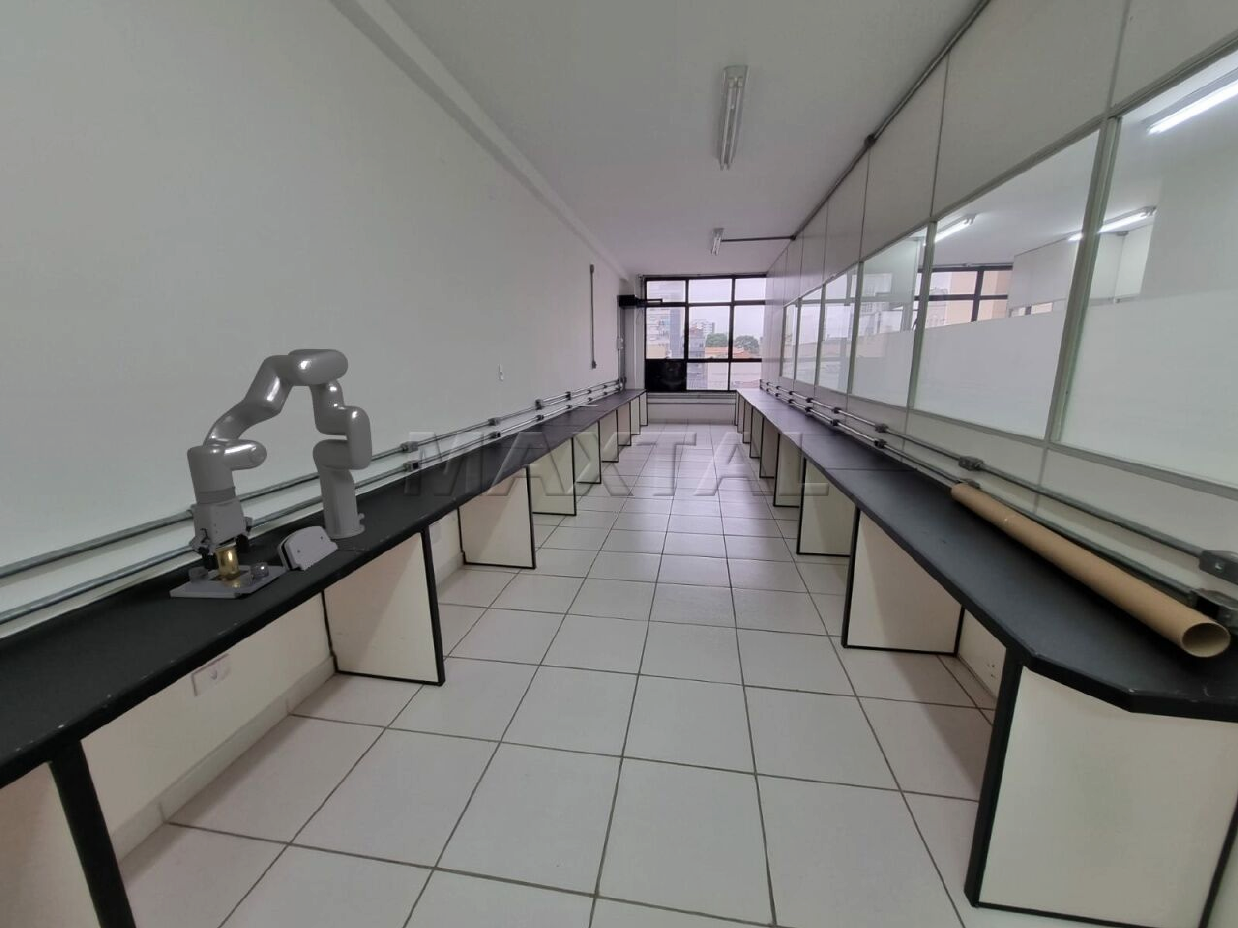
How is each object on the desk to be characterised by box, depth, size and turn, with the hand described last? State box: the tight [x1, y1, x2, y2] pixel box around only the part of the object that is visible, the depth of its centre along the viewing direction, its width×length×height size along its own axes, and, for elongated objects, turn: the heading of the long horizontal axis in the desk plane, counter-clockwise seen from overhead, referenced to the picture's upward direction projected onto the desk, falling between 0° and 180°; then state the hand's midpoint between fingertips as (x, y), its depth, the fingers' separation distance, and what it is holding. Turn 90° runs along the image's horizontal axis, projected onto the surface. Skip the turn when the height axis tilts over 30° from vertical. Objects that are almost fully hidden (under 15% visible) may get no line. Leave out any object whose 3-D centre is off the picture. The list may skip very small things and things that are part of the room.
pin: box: [214, 545, 240, 581], centre depth 120 cm, size 4×4×10 cm
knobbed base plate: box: [169, 561, 287, 599], centre depth 120 cm, size 12×20×6 cm, turn 88°
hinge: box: [276, 525, 339, 572], centre depth 137 cm, size 17×5×10 cm, turn 0°
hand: (228, 560), depth 120 cm, fingers open, 9 cm apart
